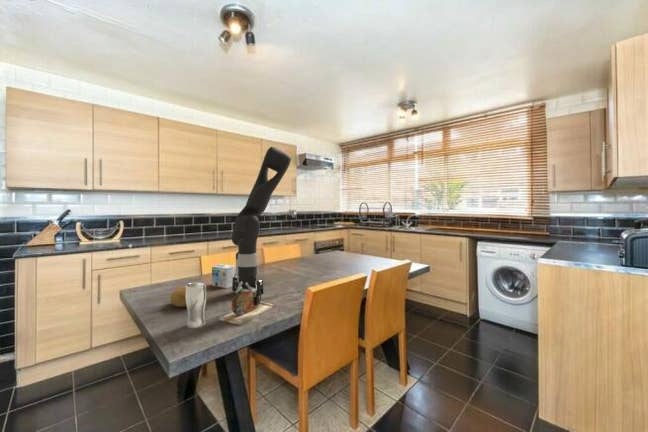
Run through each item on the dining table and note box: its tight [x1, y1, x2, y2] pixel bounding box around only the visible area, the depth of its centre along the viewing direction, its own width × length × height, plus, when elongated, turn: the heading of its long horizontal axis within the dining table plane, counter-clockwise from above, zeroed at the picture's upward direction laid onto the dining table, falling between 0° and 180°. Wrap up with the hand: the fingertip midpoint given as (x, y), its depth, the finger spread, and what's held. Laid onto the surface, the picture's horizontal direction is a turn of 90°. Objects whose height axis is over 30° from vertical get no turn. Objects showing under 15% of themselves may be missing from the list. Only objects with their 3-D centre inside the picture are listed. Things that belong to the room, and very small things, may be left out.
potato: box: [170, 285, 187, 308], centre depth 120 cm, size 10×14×8 cm
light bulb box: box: [211, 263, 236, 289], centre depth 150 cm, size 11×7×11 cm, turn 67°
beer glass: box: [185, 281, 208, 329], centre depth 100 cm, size 7×7×15 cm
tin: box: [231, 288, 262, 315], centre depth 112 cm, size 15×3×8 cm, turn 154°
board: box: [219, 301, 273, 326], centre depth 112 cm, size 10×20×1 cm, turn 154°
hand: (247, 303), depth 112 cm, fingers open, 8 cm apart
